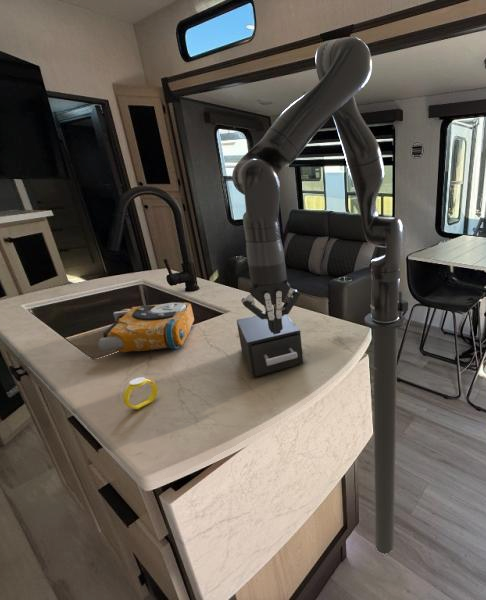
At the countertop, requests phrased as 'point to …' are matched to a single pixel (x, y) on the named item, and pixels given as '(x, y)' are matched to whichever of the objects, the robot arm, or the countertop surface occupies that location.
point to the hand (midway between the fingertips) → (276, 332)
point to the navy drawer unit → (262, 335)
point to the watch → (137, 383)
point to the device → (149, 328)
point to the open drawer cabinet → (276, 354)
